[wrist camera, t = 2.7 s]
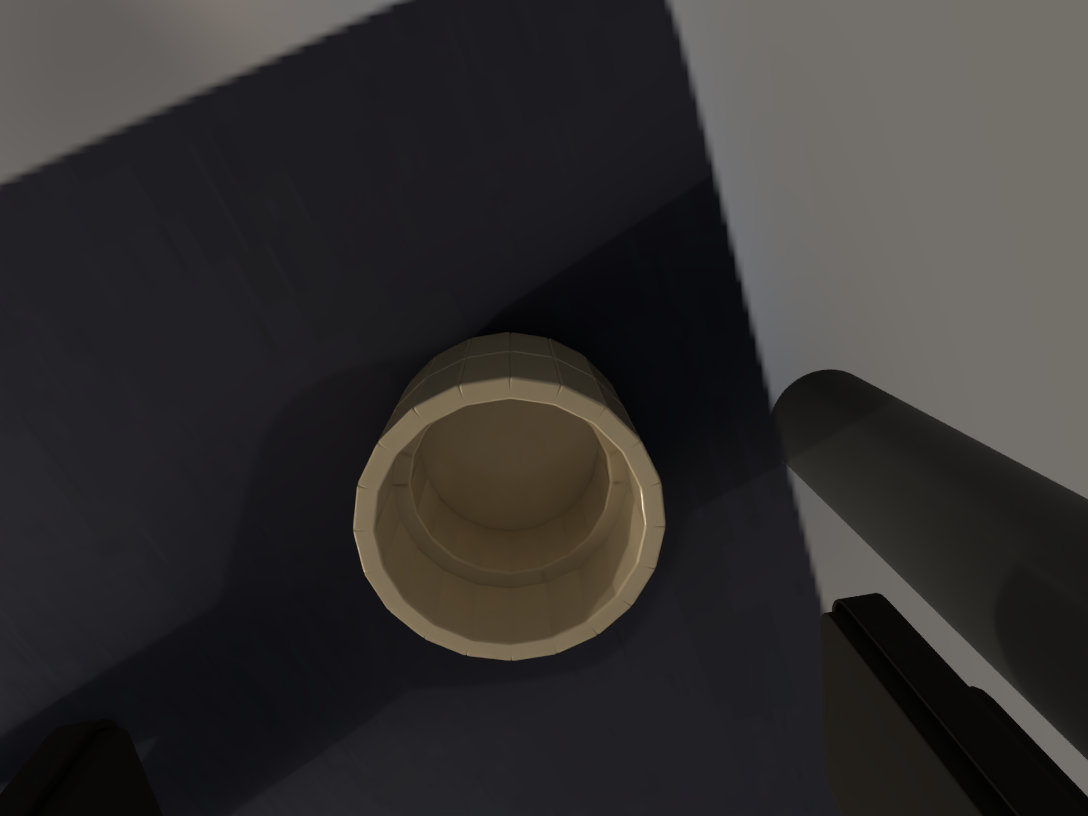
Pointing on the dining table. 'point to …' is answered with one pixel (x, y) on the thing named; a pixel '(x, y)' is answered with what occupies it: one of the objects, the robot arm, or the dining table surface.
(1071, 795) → the robot arm
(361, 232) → the dining table surface
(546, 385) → the tan faceted cup
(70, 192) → the dining table surface
